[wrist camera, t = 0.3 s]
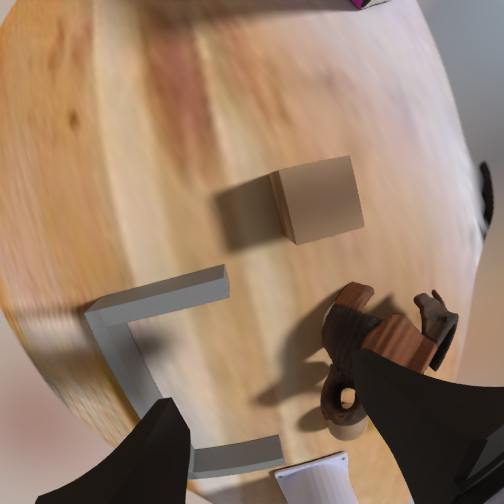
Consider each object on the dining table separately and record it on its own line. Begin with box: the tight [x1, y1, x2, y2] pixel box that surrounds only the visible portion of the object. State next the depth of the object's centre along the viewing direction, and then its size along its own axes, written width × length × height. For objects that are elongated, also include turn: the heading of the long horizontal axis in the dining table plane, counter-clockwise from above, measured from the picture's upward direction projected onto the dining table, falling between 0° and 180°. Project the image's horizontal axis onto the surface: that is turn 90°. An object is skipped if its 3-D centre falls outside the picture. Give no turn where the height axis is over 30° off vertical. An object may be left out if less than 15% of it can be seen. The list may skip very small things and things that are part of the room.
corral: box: [84, 264, 286, 480], centre depth 20 cm, size 18×9×3 cm, turn 15°
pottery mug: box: [320, 282, 459, 426], centre depth 19 cm, size 12×10×8 cm
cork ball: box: [328, 403, 368, 441], centre depth 21 cm, size 4×4×4 cm
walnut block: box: [268, 155, 364, 245], centre depth 17 cm, size 4×4×4 cm
